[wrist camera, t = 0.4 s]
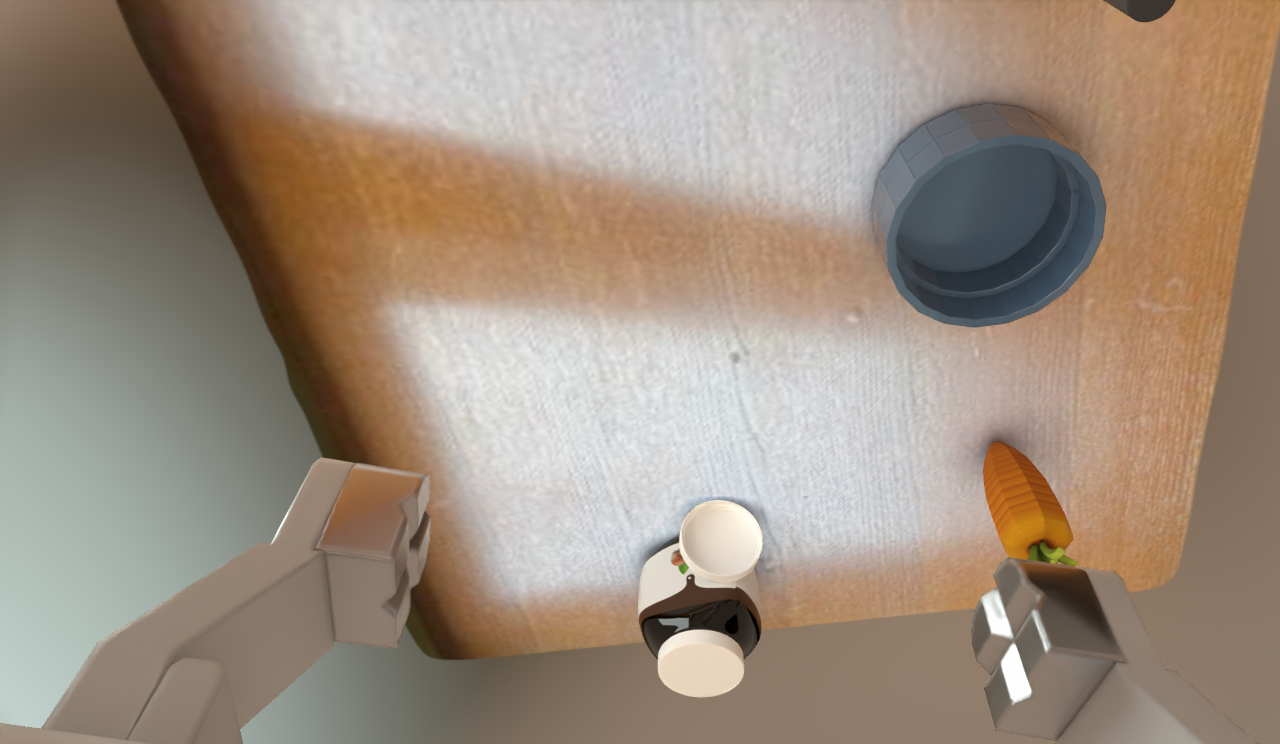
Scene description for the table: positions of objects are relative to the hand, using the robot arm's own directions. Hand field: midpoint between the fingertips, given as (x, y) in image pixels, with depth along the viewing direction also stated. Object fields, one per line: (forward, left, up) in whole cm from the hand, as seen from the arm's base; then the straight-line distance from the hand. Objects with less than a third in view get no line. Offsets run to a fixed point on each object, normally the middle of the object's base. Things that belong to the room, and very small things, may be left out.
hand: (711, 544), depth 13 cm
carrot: (+33, +30, -47) cm, 65 cm away
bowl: (+13, +21, -47) cm, 53 cm away
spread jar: (+48, +9, -47) cm, 68 cm away
